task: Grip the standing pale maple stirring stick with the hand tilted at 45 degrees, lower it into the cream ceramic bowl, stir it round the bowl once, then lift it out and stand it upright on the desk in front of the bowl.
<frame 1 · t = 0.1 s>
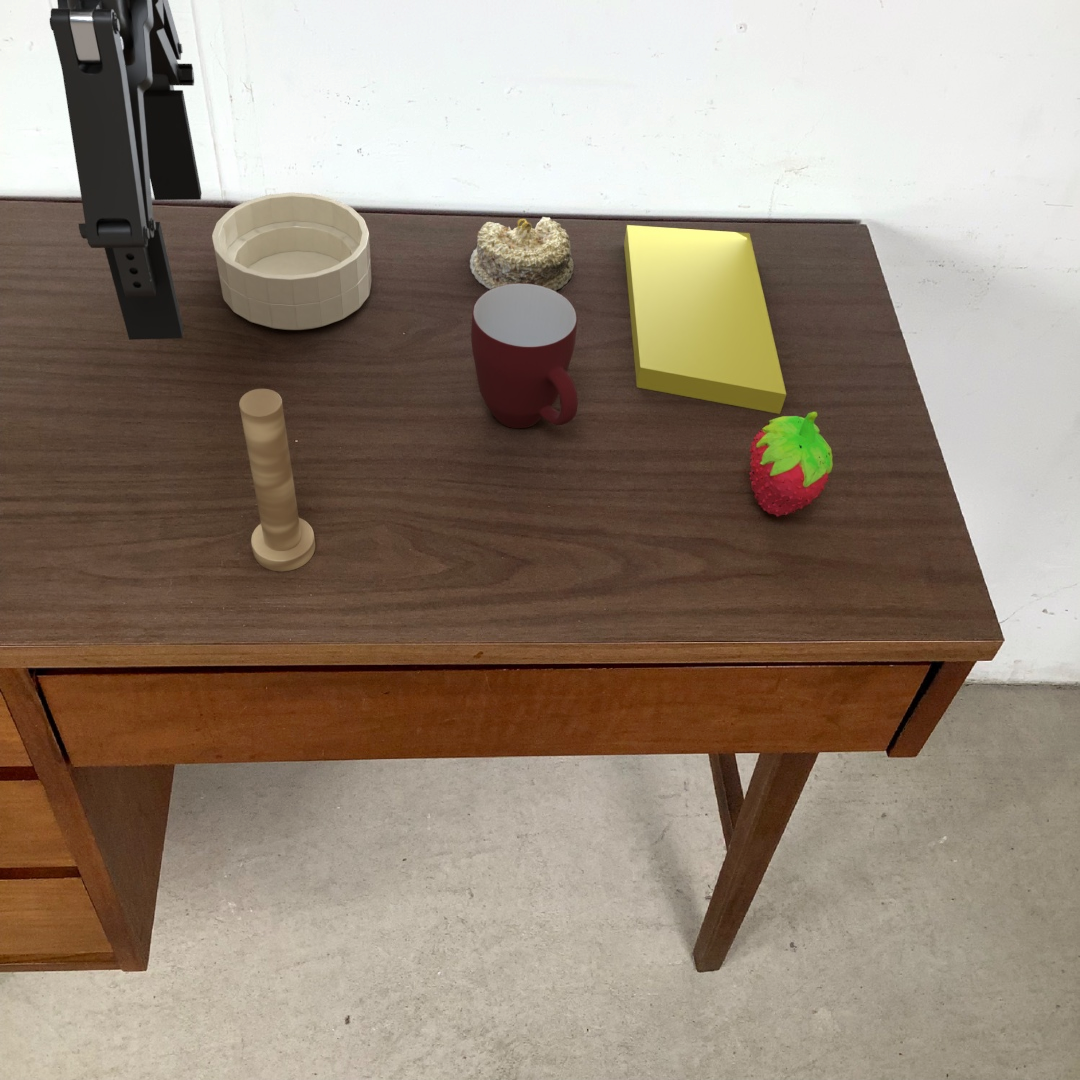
hand: (168, 261, 61), 23 cm above the table, tool pointing down, fingers open, 13 cm apart
strawberry: (774, 506, 84), on the table
bowl: (297, 291, 97), on the table
yellow flat board: (695, 324, 98), on the table
mug: (527, 422, 88), on the table
cake: (521, 268, 102), on the table
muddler: (284, 548, 77), on the table
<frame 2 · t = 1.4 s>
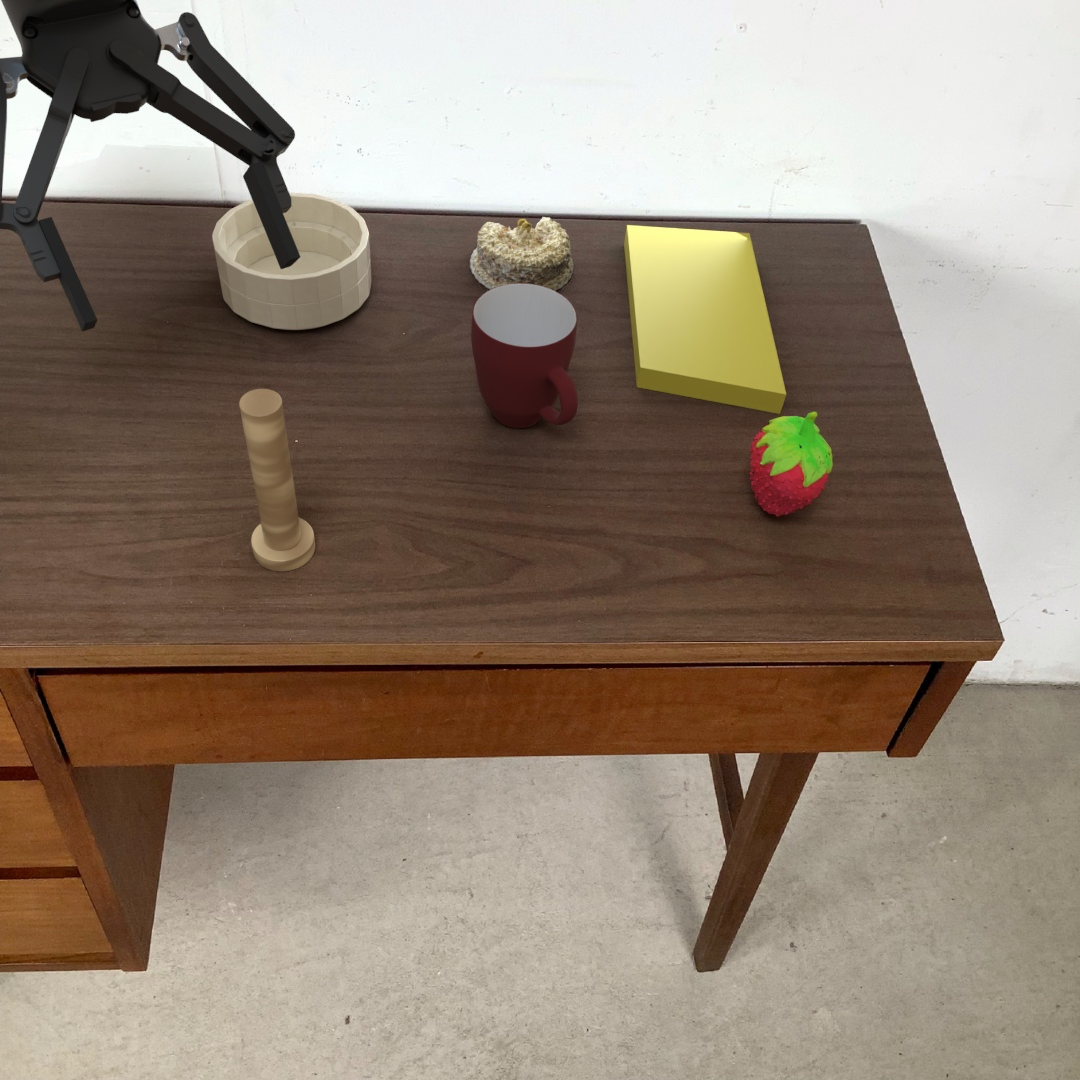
hand: (194, 294, 69), 16 cm above the table, tool tilted 45°, fingers open, 13 cm apart
nothing on the table moved.
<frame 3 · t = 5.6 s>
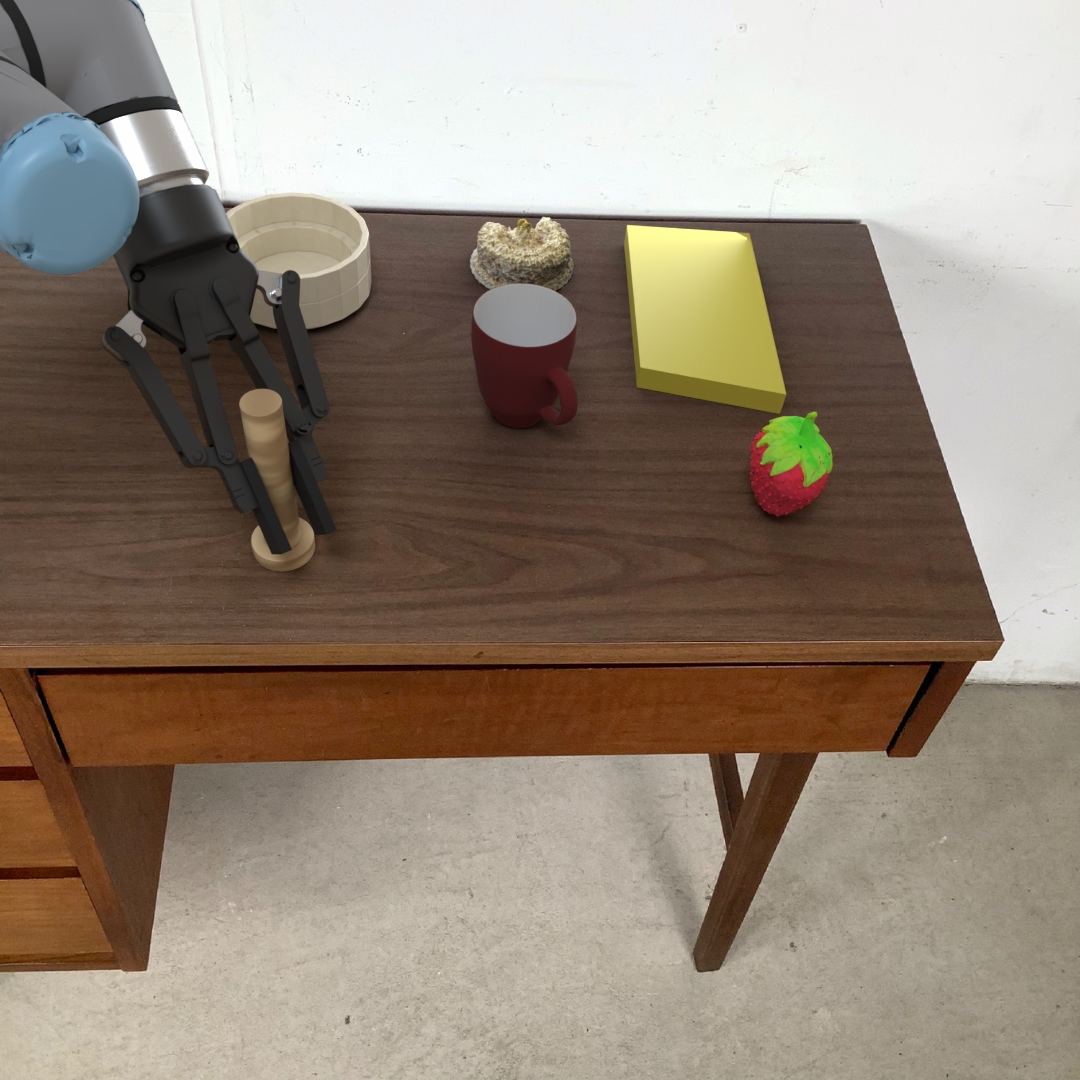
hand: (303, 541, 72), 5 cm above the table, tool tilted 45°, fingers closed on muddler, 3 cm apart
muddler: (284, 548, 77), on the table, touching gripper
everything else where it was.
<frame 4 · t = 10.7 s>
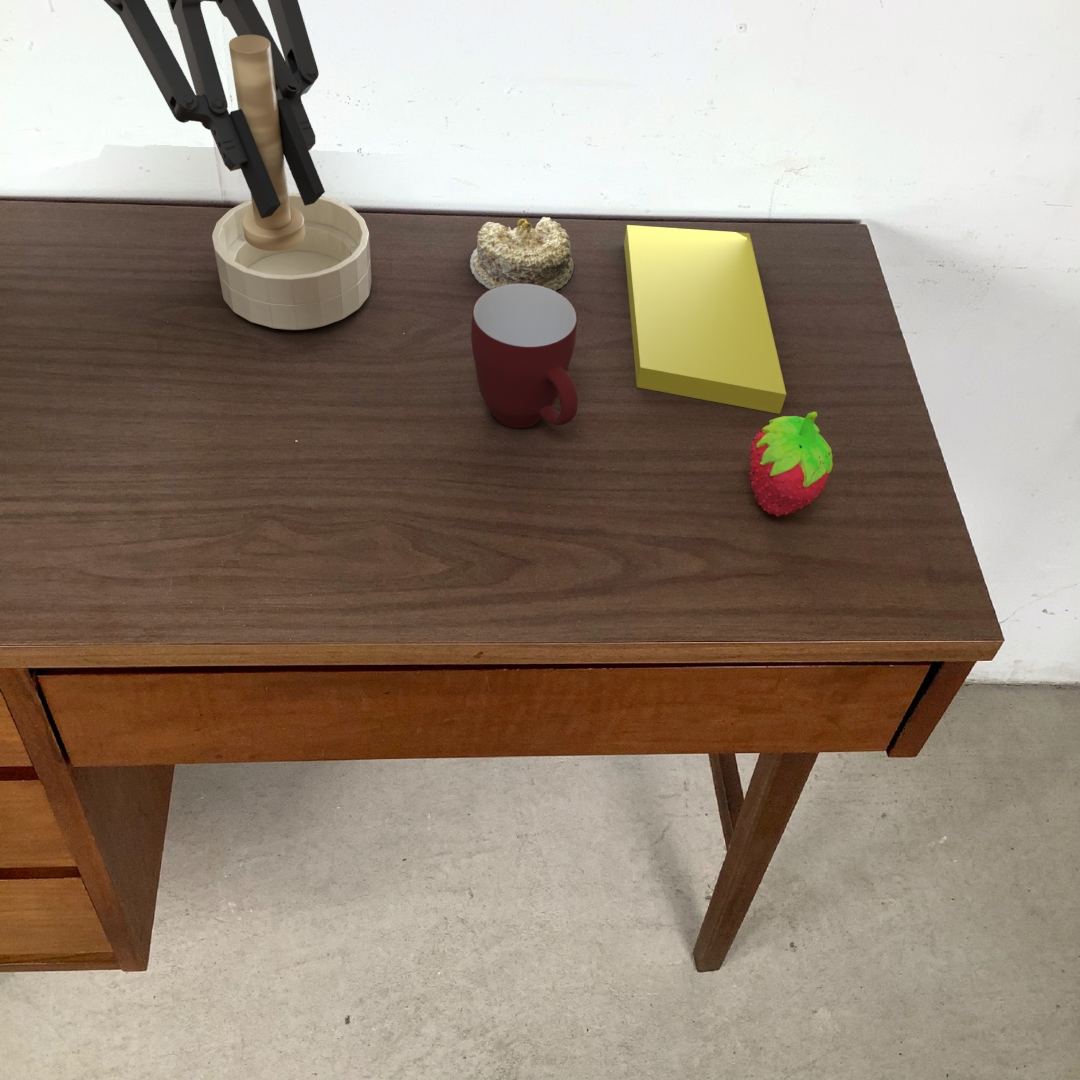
hand: (292, 204, 73), 18 cm above the table, tool tilted 45°, fingers closed on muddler, 3 cm apart
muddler: (274, 234, 79), point 14 cm above the table, touching gripper
everything else where it was.
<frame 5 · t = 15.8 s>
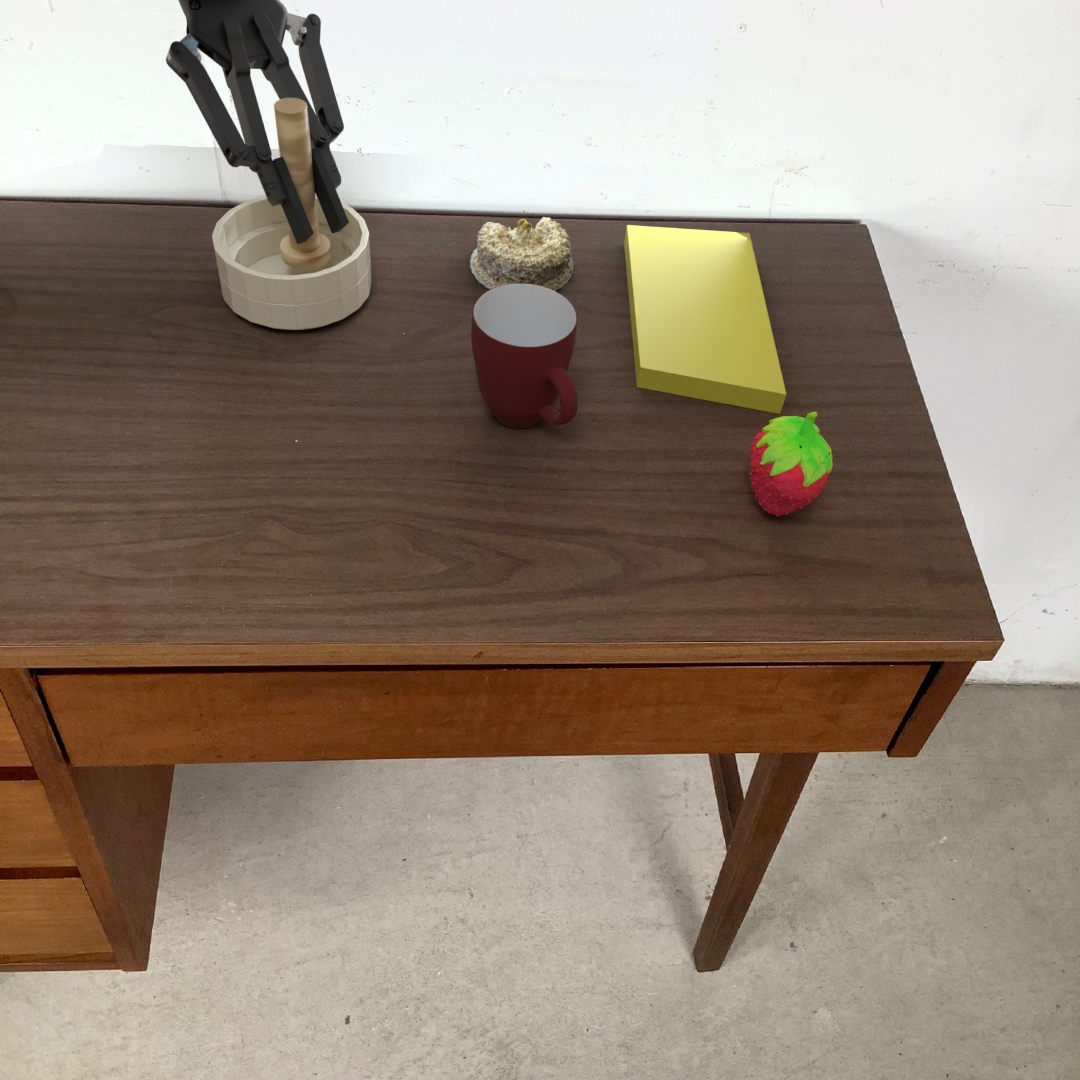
hand: (322, 232, 90), 8 cm above the table, tool tilted 45°, fingers closed on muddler, 3 cm apart
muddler: (306, 255, 95), point 3 cm above the table, touching gripper
everything else where it was.
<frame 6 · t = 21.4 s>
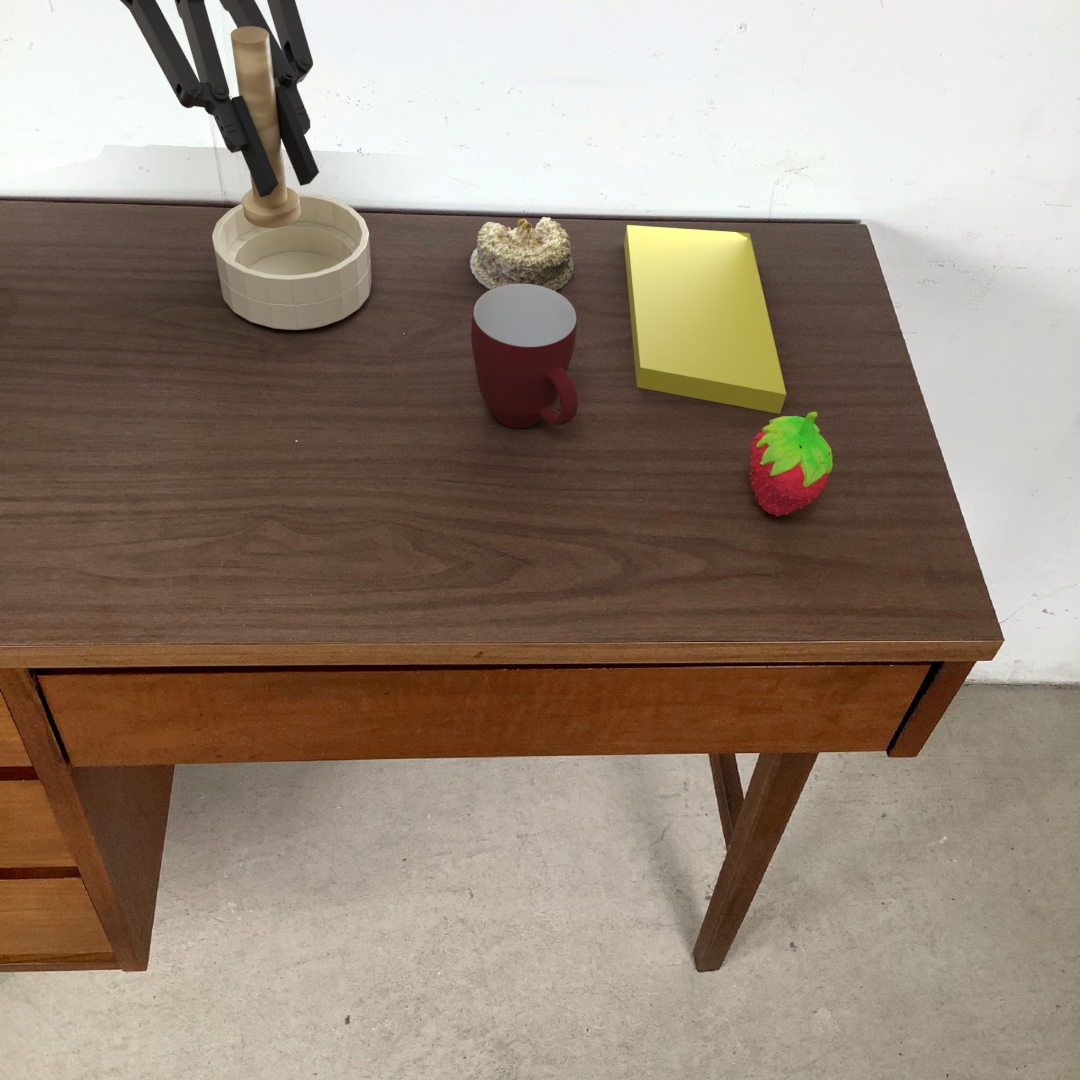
hand: (289, 184, 79), 16 cm above the table, tool tilted 45°, fingers closed on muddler, 3 cm apart
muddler: (272, 213, 85), point 12 cm above the table, touching gripper
everything else where it was.
when the fingers open (4 cm above the table, at t = 25.9 s): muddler stays where it is, on the table.
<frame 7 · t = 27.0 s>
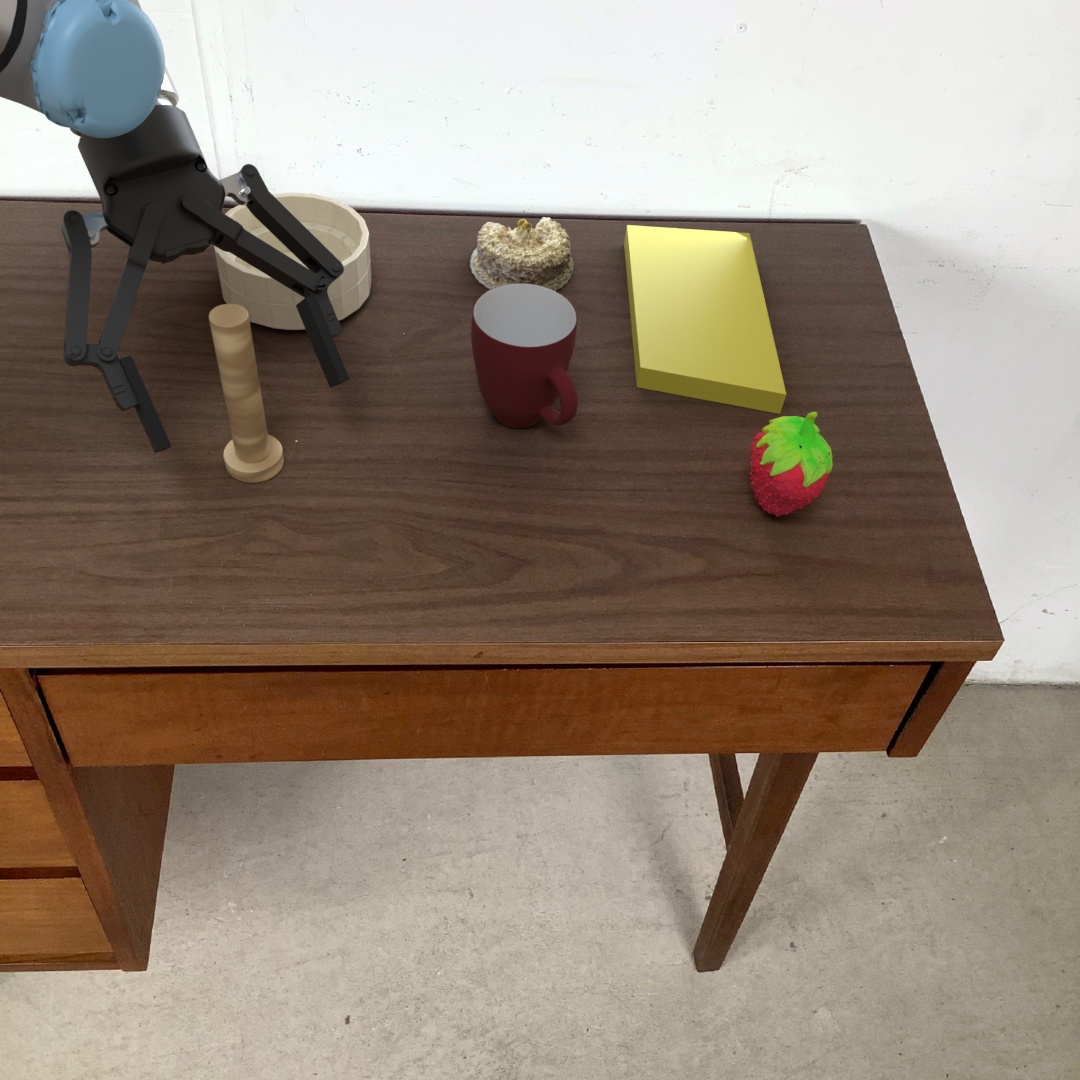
hand: (255, 416, 76), 7 cm above the table, tool tilted 45°, fingers open, 13 cm apart
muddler: (254, 462, 82), on the table
everything else where it was.
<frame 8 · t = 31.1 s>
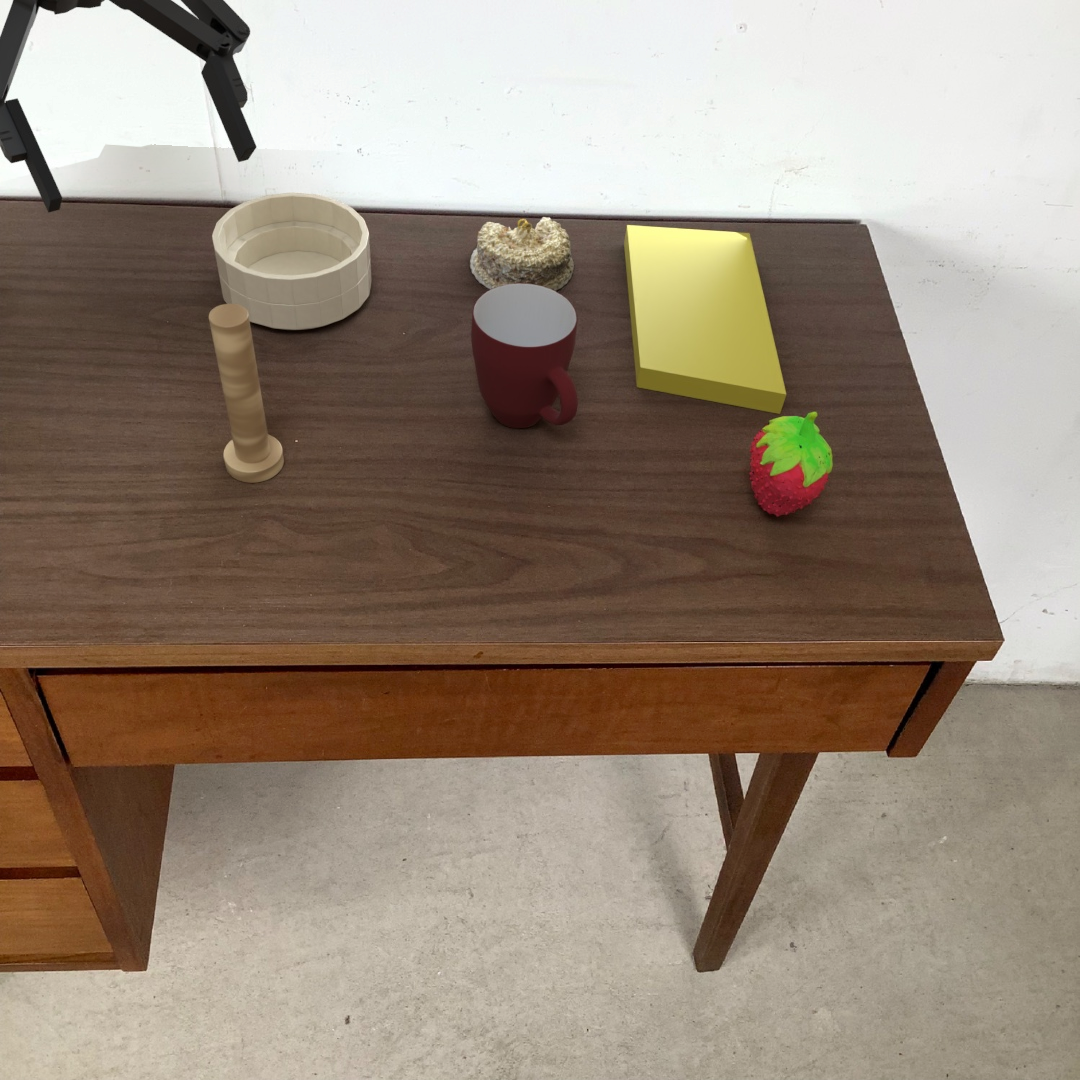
hand: (155, 179, 73), 19 cm above the table, tool tilted 45°, fingers open, 13 cm apart
nothing on the table moved.
at the end: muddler inside the target area on the table beside the bowl (0.1 cm from its centre), on the table; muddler tilted 0°; the gripper is holding nothing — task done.
